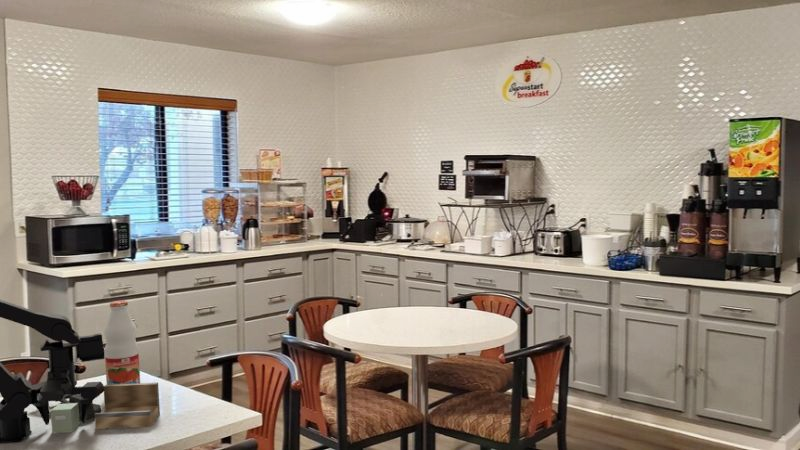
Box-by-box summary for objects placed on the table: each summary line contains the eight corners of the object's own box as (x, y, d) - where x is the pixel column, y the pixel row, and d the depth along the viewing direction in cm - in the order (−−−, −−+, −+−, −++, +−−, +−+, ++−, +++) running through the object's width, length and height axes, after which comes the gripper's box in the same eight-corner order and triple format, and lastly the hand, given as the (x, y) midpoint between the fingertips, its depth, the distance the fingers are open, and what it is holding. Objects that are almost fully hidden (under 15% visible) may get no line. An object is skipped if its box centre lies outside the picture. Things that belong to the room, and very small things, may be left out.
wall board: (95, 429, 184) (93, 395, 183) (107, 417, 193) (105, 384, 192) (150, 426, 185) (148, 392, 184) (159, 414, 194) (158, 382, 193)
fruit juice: (138, 387, 220) (133, 297, 217) (143, 395, 211) (137, 302, 209) (105, 392, 215) (100, 301, 213) (109, 401, 207) (103, 306, 205)
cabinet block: (50, 434, 182) (49, 411, 181) (60, 426, 187) (58, 403, 187) (70, 433, 182) (69, 410, 181) (79, 425, 188) (78, 402, 187)
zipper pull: (60, 377, 210) (105, 391, 194) (62, 398, 210) (106, 415, 195) (29, 384, 203) (73, 400, 187) (31, 407, 203) (75, 424, 188)
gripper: (9, 375, 175) (13, 437, 176) (87, 371, 176) (90, 433, 177) (29, 363, 186) (34, 421, 187) (102, 360, 187) (106, 417, 188)
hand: (65, 423), depth 185 cm, fingers open, 9 cm apart
